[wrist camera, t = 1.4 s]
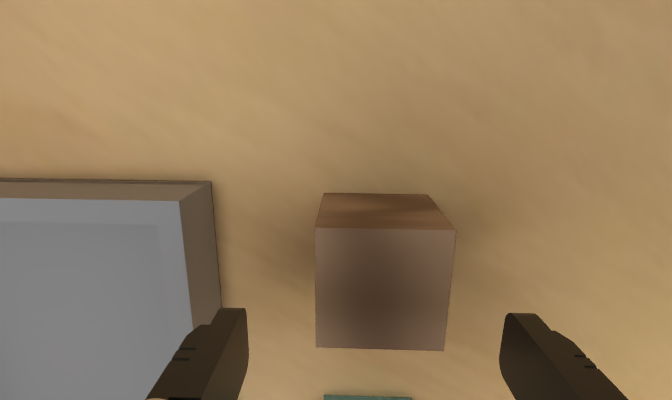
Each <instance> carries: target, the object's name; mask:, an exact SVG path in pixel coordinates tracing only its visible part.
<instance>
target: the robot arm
mask: <svg viewBox="0 0 672 400" xmlns="http://www.w3.org/2000/svg"><path fill="white" fill-rule="evenodd" d="M248 358H249V348H248V331H247V315H246V310H245V308H220V309H219V310H218V311H217V313H216V315H215V317H214V318H213V320H212V322H211V324H210V325H204V324H201V325H199V326H198V327H197V328H195V329H194V330H193V331H191V332H190V333H189V334H188V335H187V336H186V337H185V339H184V340H183V342H182V343H181V345H180V346H179V349H178V350H177V351H176V352H175V354H174V356H173V357H172V360H171V361H170V362H169V363H168V365H167V366H166V368H165V369H164V371H163V373H162V374H161V376H160V377H159V379H158V380H157V382H156V383H155V385H154V386H153V388H152V390H151V391H150V393H149V394H148V396H147V397H146V399H145V400H237V398H238V395H239V392H240V390H241V387H242V384H243V381H244V378H245V375H246V371H247V367H248ZM499 364H500V370H501V373H502V376H503V378H504V380H505V382H506V384H507V385H508V387H509V389H510V391H511V392H512V394H513V396H514V397H515V399H516V400H628V399H627V398H626V397H625V396H624V395H623V394H622V392H621V391H620V390H619V389H618V388H617V387H616V386H615V385H614V384H613V383H612V382H611V381H610V380H609V379H608V378H607V377H606V376H605V375H604V374H603V373H602V372H601V371H600V370H599V369H597V368H596V365H595V364H594V363H593V362H592V361H591V360H590V359H589V358H586V355H585V354H584V353H583V352H582V351H581V350H580V349H579V348H578V347H577V346H576V345H575V343H574V342H572V341H571V340H569V339H568V338H566V337H564V336H563V335H561V334H560V333H558V332H557V331H551V330H550V329H549V327H548V326H547V325H546V324H545V323H544V322H543V321H542V320H541V319H540V318H539V316H537V315H536V314H534V313H508V314H507V315H506V318H505V322H504V329H503V335H502V342H501V348H500V355H499Z"/></svg>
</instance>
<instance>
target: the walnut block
mask: <svg viewBox="0 0 672 400" xmlns="http://www.w3.org/2000/svg"><path fill="white" fill-rule="evenodd" d="M455 239H456V229H455V228H454V227H453V226H452V224H451V223H450V222H449V221H448V219H447V218H446V217H445V216H444V214H443V213H442V212H441V211H440V209H439V208H438V207H437V206H436V204H435V203H434V202H433V201H432V199H431V198H430V197H429V196H428V195H420V194H360V193H324V195H323V199H322V203H321V206H320V210H319V214H318V218H317V222H316V226H315V294H316V347H325V348H359V349H392V350H426V351H444V345H445V335H446V326H447V316H448V306H449V297H450V287H451V277H452V268H453V258H454V248H455Z"/></svg>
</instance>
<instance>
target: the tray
mask: <svg viewBox="0 0 672 400" xmlns="http://www.w3.org/2000/svg"><path fill="white" fill-rule="evenodd" d="M220 308H222V305H221V294H220V282H219V271H218V259H217V247H216V236H215V224H214V213H213V201H212V190H211V181H157V180H93V179H29V178H0V400H145V399H146V397H147V396H148V394H149V393H150V391H151V390H152V388H153V386H154V385H155V383H156V382H157V380H158V379H159V377H160V376H161V374H162V373H163V371H164V369H165V368H166V366H167V365H168V363H169V362H170V361H171V360H172V357H173V356H174V354H175V352H176V351H177V350H178V349H179V346H180V345H181V343H182V342H183V340H184V339H185V337H186V336H187V335H188V334H189V333H190V332H191V331H193V330H194V329H195V328H197V327H198V326H199V325H201V324H204V325H210V324H211V322H212V320H213V318H214V317H215V315H216V313H217V311H218V310H219V309H220Z"/></svg>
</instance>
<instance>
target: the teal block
mask: <svg viewBox="0 0 672 400" xmlns="http://www.w3.org/2000/svg"><path fill="white" fill-rule="evenodd" d="M324 400H412V398H403V397H371V396H340V395H324Z"/></svg>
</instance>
